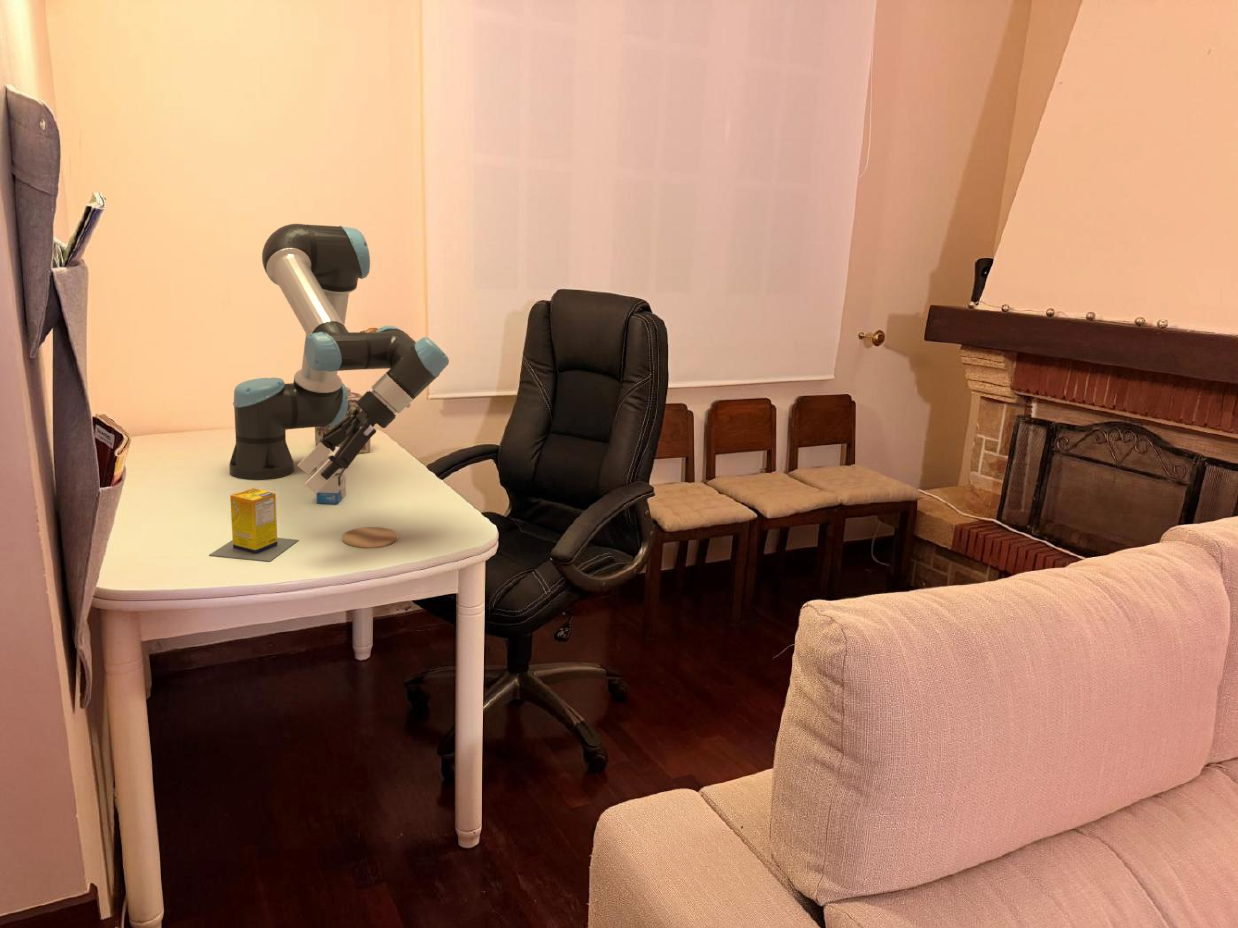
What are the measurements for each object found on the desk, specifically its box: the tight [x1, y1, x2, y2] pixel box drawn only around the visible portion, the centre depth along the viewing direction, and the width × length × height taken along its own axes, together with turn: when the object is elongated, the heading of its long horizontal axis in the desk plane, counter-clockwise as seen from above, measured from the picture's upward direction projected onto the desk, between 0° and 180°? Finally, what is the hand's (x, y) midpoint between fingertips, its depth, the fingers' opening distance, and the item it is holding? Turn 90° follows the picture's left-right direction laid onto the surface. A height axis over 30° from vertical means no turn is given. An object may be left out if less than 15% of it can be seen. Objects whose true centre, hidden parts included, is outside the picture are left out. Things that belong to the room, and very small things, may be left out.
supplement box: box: [229, 487, 278, 554], centre depth 168 cm, size 6×6×11 cm
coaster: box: [341, 526, 399, 549], centre depth 179 cm, size 11×11×1 cm
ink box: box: [315, 447, 347, 505], centre depth 201 cm, size 8×5×12 cm, turn 4°
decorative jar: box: [314, 386, 371, 455], centre depth 242 cm, size 12×12×18 cm
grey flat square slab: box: [208, 537, 299, 563], centre depth 169 cm, size 12×12×1 cm
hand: (306, 479), depth 170 cm, fingers open, 13 cm apart
